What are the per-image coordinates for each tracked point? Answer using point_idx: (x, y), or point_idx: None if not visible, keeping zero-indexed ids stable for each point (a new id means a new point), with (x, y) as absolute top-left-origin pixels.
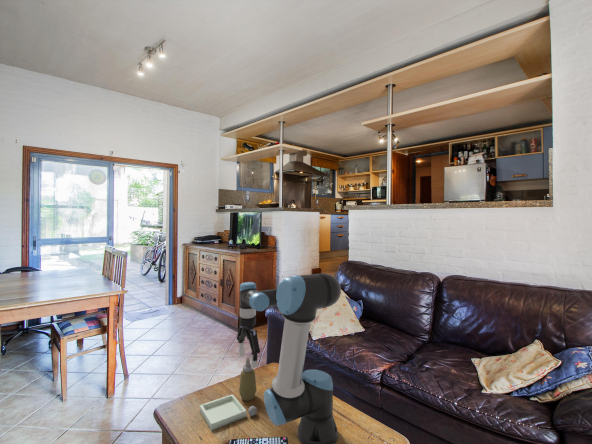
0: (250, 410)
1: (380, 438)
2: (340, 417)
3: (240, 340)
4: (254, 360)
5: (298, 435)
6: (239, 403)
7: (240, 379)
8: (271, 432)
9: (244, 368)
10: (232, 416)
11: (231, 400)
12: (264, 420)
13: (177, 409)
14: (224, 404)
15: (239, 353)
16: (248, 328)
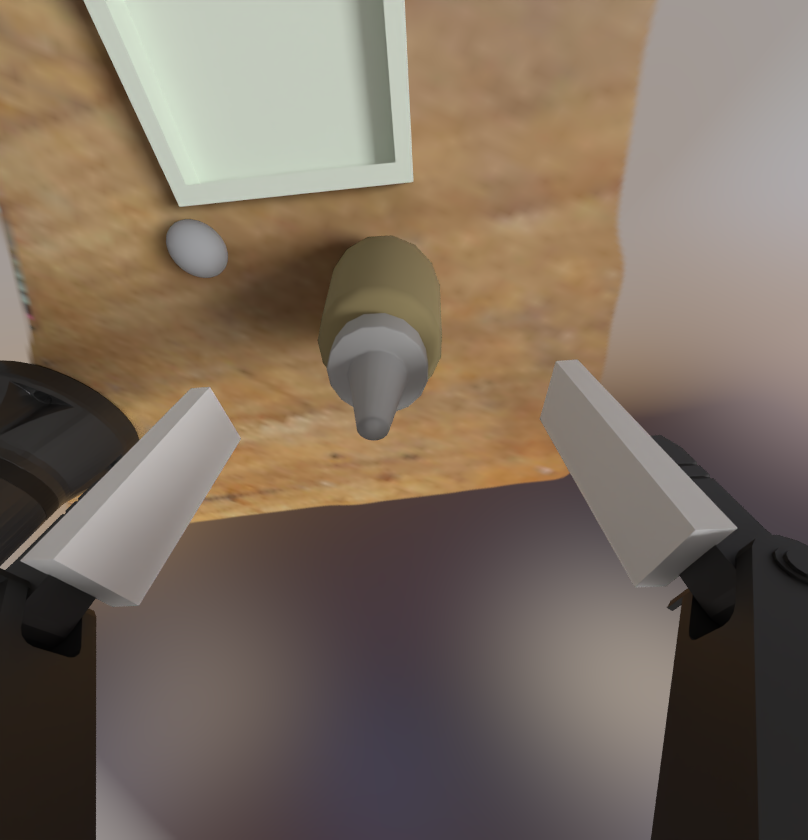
0: (168, 231)
1: None
2: None
3: (738, 632)
4: (96, 483)
5: (10, 368)
6: (276, 189)
7: (385, 264)
8: (55, 280)
9: (352, 333)
10: (109, 54)
11: (384, 159)
12: (157, 287)
13: None
14: (356, 73)
15: (578, 391)
16: None
